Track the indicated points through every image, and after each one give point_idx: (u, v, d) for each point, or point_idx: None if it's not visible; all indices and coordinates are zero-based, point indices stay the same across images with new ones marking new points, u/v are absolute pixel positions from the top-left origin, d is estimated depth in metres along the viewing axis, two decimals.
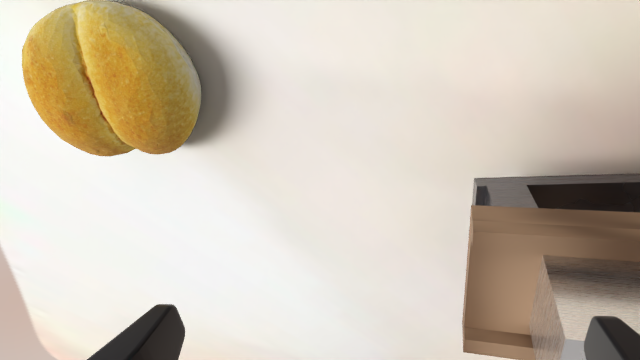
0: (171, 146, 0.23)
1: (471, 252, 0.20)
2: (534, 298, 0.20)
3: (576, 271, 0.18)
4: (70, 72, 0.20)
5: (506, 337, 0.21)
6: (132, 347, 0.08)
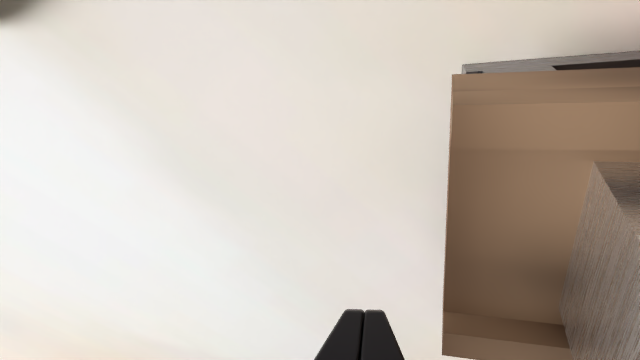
0: None
1: (452, 164, 0.10)
2: (571, 254, 0.11)
3: None
4: None
5: (517, 329, 0.12)
6: (352, 357, 0.08)
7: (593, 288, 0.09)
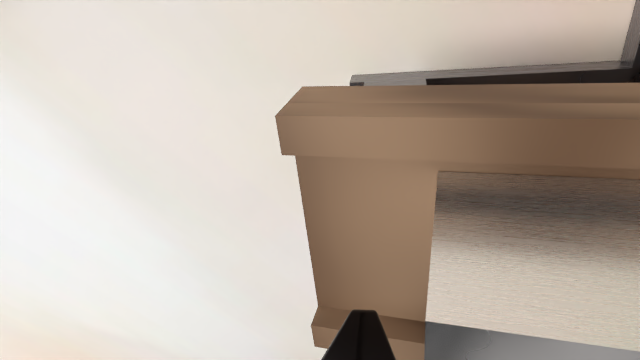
0: None
1: (299, 169, 0.11)
2: None
3: (491, 195, 0.09)
4: None
5: None
6: (359, 358, 0.08)
7: None
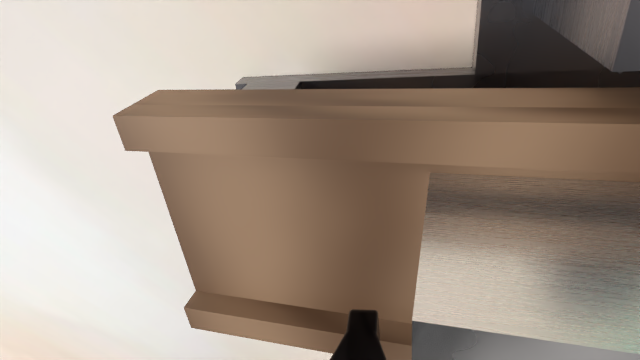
0: None
1: (154, 164, 0.12)
2: None
3: (481, 196, 0.09)
4: None
5: (243, 306, 0.14)
6: (368, 358, 0.07)
7: None
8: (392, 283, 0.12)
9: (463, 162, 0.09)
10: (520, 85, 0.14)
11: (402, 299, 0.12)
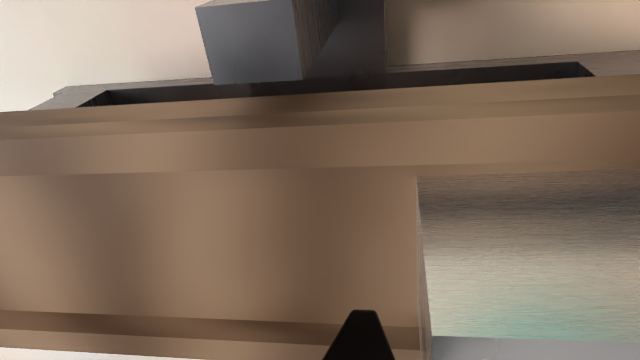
0: None
1: None
2: (417, 263, 0.11)
3: (472, 196, 0.09)
4: None
5: (25, 318, 0.15)
6: (359, 358, 0.08)
7: (420, 296, 0.10)
8: (145, 282, 0.13)
9: (128, 169, 0.10)
10: (288, 90, 0.15)
11: (159, 295, 0.13)
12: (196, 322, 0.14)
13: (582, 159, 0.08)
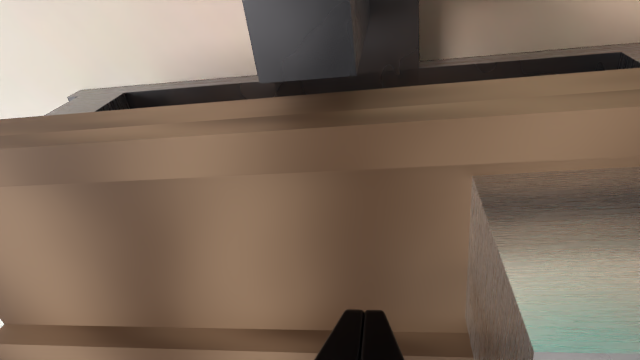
0: None
1: None
2: (468, 266, 0.11)
3: (540, 196, 0.08)
4: None
5: (48, 333, 0.14)
6: (352, 357, 0.08)
7: (481, 303, 0.09)
8: (175, 292, 0.13)
9: (166, 175, 0.09)
10: (316, 88, 0.15)
11: (190, 306, 0.13)
12: (229, 333, 0.13)
13: None
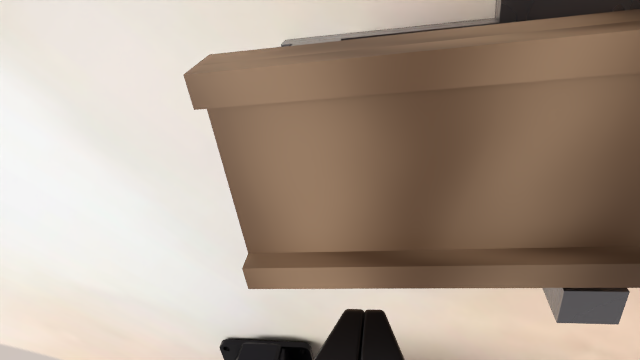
0: None
1: (213, 125, 0.13)
2: None
3: None
4: None
5: (300, 258, 0.15)
6: (352, 358, 0.08)
7: None
8: (445, 212, 0.13)
9: (522, 79, 0.10)
10: None
11: (453, 226, 0.14)
12: (488, 252, 0.14)
13: None
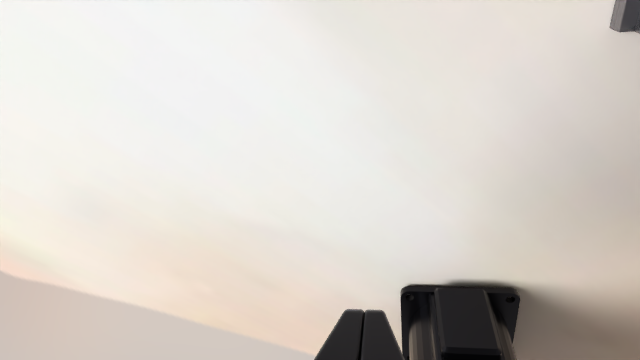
0: None
1: None
2: None
3: None
4: None
5: None
6: (352, 357, 0.08)
7: None
8: None
9: None
10: None
11: None
12: None
13: None
